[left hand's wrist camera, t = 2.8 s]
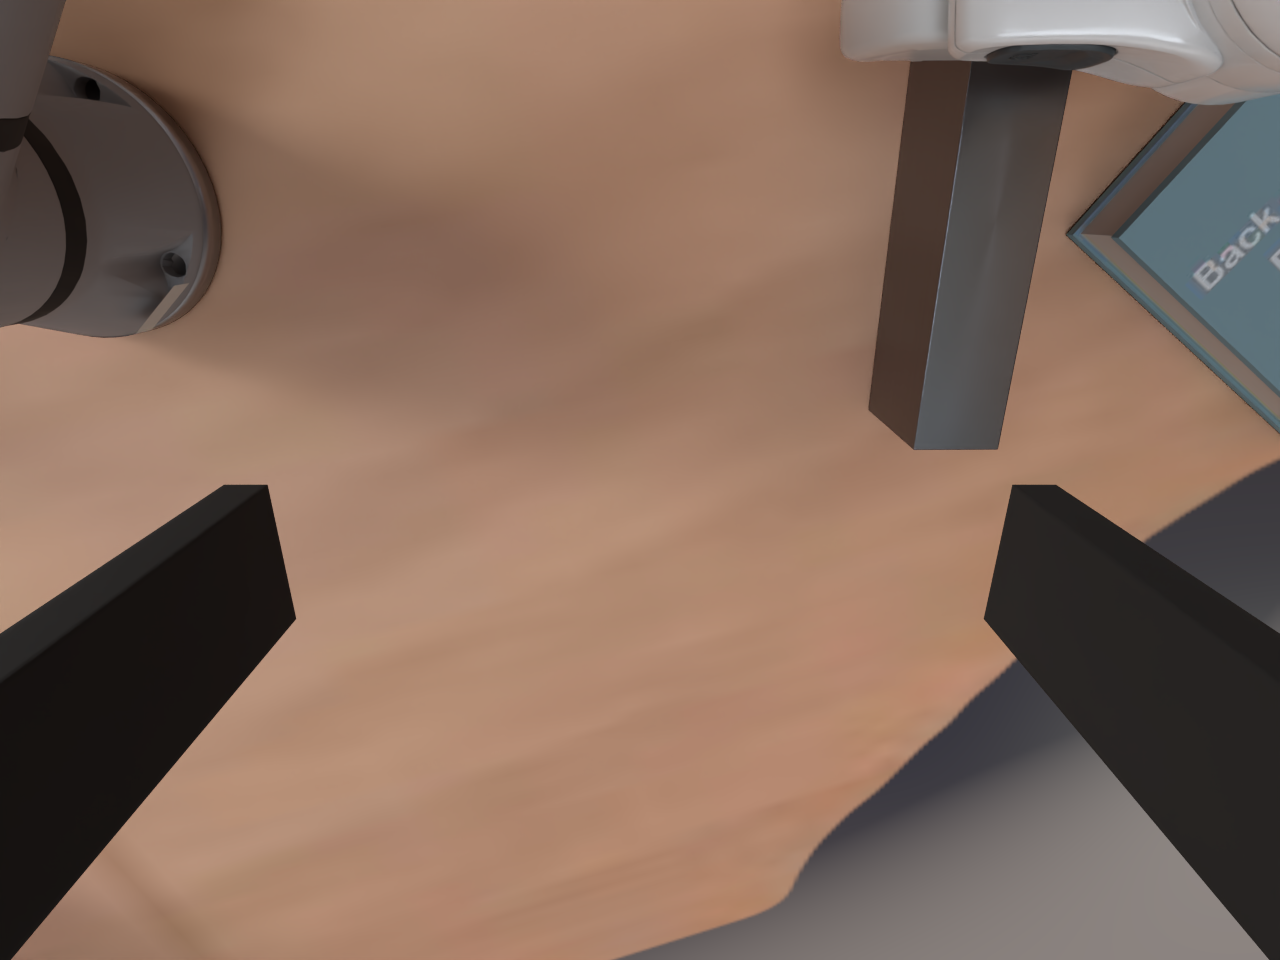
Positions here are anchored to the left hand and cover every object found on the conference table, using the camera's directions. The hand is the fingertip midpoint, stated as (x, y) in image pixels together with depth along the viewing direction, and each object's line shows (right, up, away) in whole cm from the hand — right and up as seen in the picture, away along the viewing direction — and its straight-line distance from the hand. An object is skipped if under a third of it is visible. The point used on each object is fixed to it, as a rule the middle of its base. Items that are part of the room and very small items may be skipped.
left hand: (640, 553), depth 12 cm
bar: (+18, +17, +30) cm, 39 cm away
